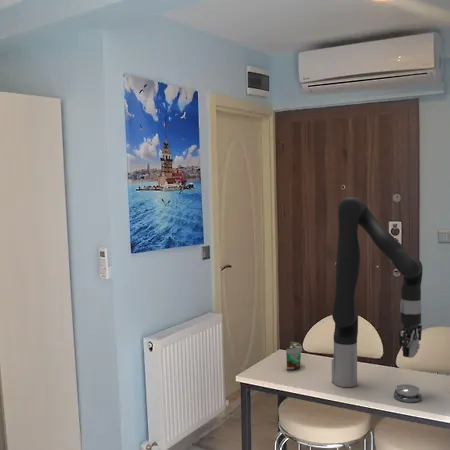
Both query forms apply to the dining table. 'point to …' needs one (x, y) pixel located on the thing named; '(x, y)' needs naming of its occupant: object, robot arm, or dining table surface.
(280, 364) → the dining table surface
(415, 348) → the frog figurine
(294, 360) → the food container
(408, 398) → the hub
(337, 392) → the dining table surface
